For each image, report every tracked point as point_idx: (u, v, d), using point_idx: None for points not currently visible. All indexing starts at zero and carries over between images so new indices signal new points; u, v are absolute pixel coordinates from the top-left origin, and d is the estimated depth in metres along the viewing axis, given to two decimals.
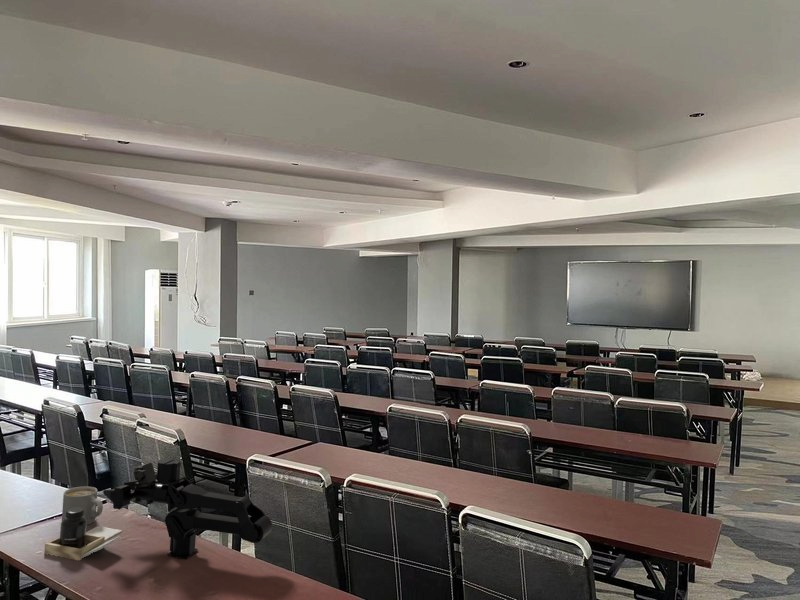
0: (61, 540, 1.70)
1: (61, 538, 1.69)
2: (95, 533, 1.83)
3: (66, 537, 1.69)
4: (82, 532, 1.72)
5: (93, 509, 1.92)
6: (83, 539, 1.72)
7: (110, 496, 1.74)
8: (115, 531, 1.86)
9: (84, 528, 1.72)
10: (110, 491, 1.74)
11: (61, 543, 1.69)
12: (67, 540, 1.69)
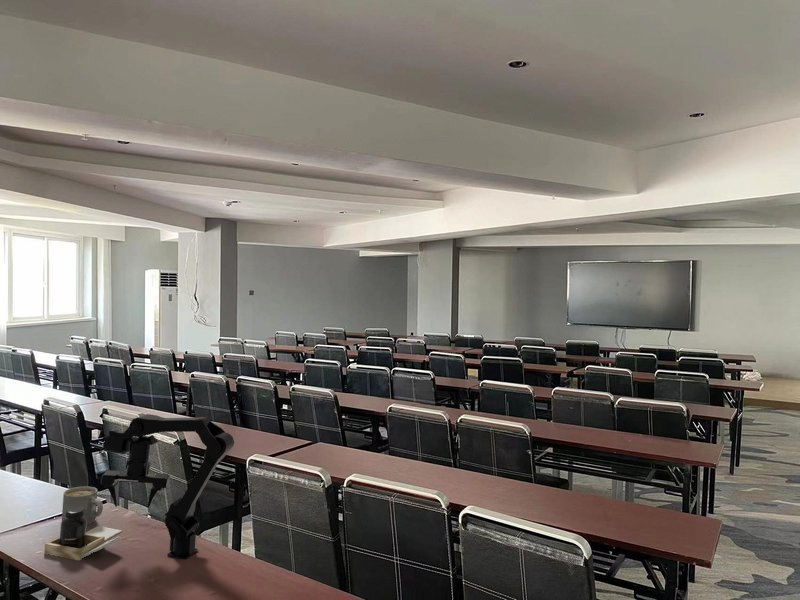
0: (61, 540, 1.70)
1: (61, 538, 1.69)
2: (95, 533, 1.83)
3: (66, 537, 1.69)
4: (82, 532, 1.72)
5: (93, 509, 1.92)
6: (83, 539, 1.72)
7: None
8: (115, 531, 1.86)
9: (84, 528, 1.72)
10: None
11: (61, 543, 1.69)
12: (67, 540, 1.69)
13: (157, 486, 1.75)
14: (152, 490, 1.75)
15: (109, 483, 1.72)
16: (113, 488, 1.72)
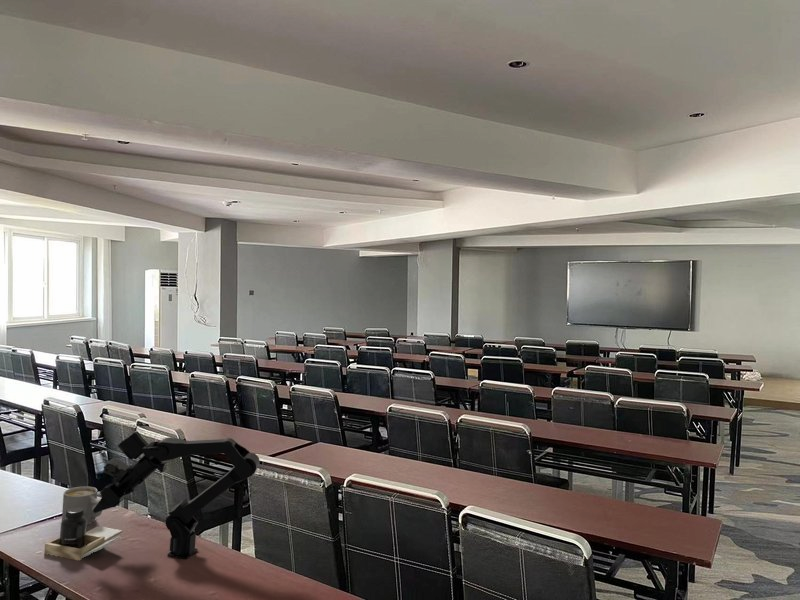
0: (61, 540, 1.70)
1: (61, 538, 1.69)
2: (95, 533, 1.83)
3: (66, 537, 1.69)
4: (82, 532, 1.72)
5: None
6: (83, 539, 1.72)
7: (103, 506, 1.67)
8: (115, 531, 1.86)
9: (84, 528, 1.72)
10: (99, 503, 1.67)
11: (61, 543, 1.69)
12: (67, 540, 1.69)
13: None
14: None
15: None
16: None
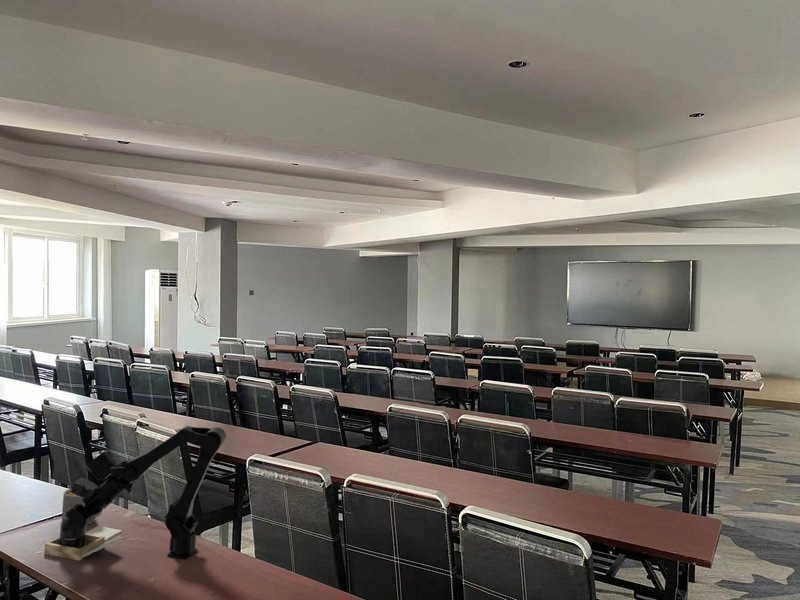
0: (61, 540, 1.70)
1: (61, 538, 1.69)
2: (95, 533, 1.83)
3: (66, 537, 1.69)
4: (82, 532, 1.72)
5: None
6: (83, 539, 1.72)
7: (71, 526, 1.68)
8: (115, 531, 1.86)
9: (84, 528, 1.72)
10: (67, 522, 1.68)
11: (61, 543, 1.69)
12: (67, 540, 1.69)
13: None
14: (98, 512, 1.77)
15: None
16: None
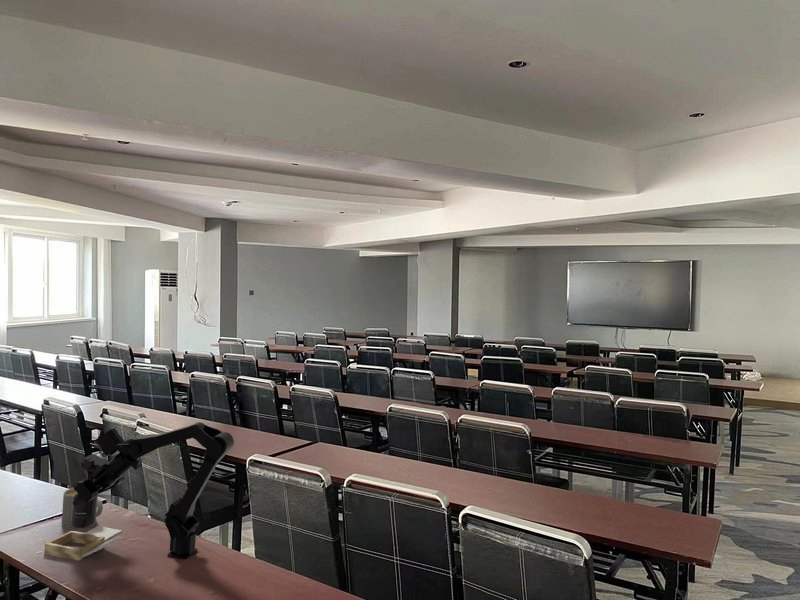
0: (72, 514, 1.74)
1: (72, 511, 1.74)
2: (95, 533, 1.83)
3: (77, 511, 1.73)
4: (92, 507, 1.75)
5: None
6: (93, 514, 1.76)
7: (80, 500, 1.72)
8: (115, 531, 1.86)
9: (94, 503, 1.76)
10: (77, 496, 1.72)
11: (72, 517, 1.74)
12: (77, 514, 1.73)
13: (117, 484, 1.83)
14: (110, 488, 1.81)
15: (92, 498, 1.70)
16: None
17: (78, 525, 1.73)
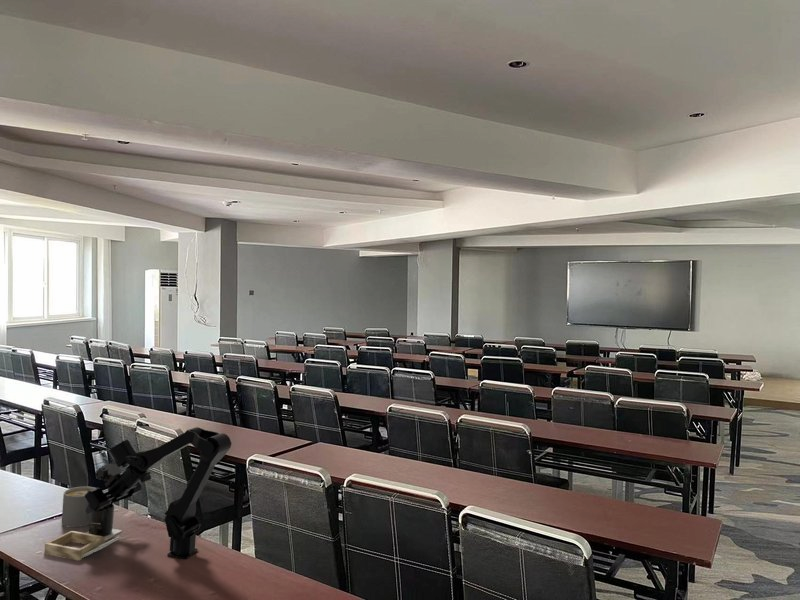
0: (89, 523, 1.82)
1: (89, 521, 1.81)
2: None
3: (92, 521, 1.80)
4: (107, 518, 1.82)
5: None
6: (108, 525, 1.82)
7: (91, 508, 1.78)
8: (115, 531, 1.86)
9: (109, 514, 1.82)
10: (88, 505, 1.78)
11: (89, 526, 1.81)
12: (93, 524, 1.80)
13: (134, 494, 1.88)
14: None
15: (102, 507, 1.75)
16: None
17: (93, 534, 1.80)
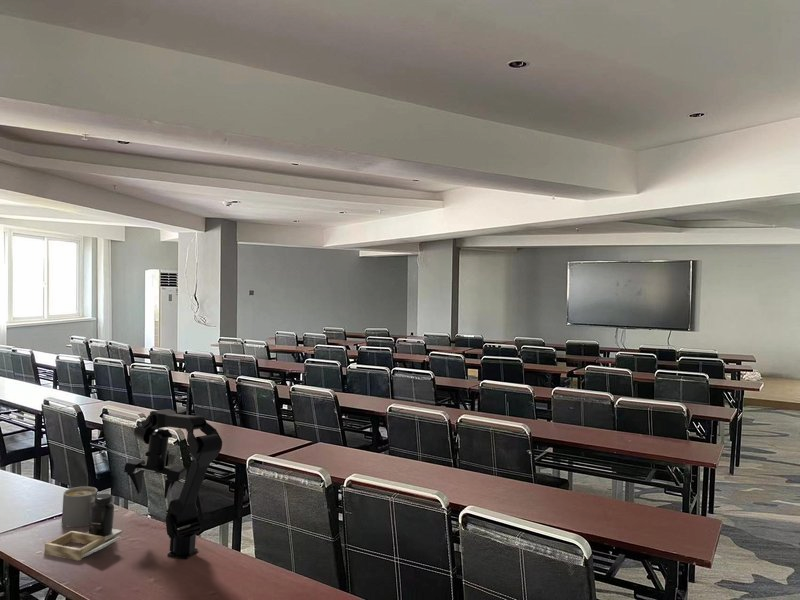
0: (89, 523, 1.82)
1: (89, 521, 1.81)
2: None
3: (92, 521, 1.80)
4: (107, 518, 1.82)
5: None
6: (108, 525, 1.82)
7: None
8: (115, 531, 1.86)
9: (109, 514, 1.82)
10: None
11: (89, 526, 1.81)
12: (93, 524, 1.80)
13: (170, 478, 1.82)
14: (166, 482, 1.82)
15: (130, 471, 1.83)
16: (134, 476, 1.83)
17: (93, 534, 1.80)
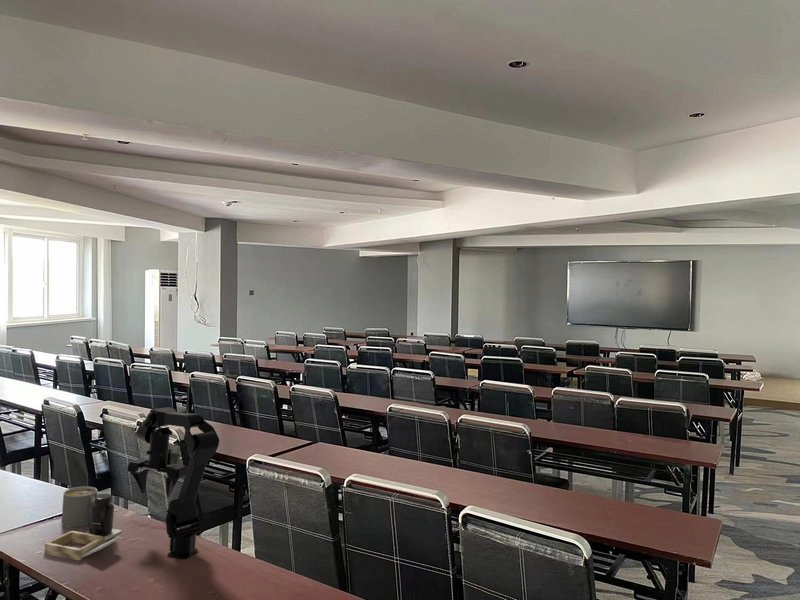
0: (89, 523, 1.82)
1: (89, 521, 1.81)
2: None
3: (92, 521, 1.80)
4: (107, 518, 1.82)
5: None
6: (108, 525, 1.82)
7: None
8: (115, 531, 1.86)
9: (109, 514, 1.82)
10: None
11: (89, 526, 1.81)
12: (93, 524, 1.80)
13: (170, 476, 1.82)
14: (167, 480, 1.82)
15: (133, 470, 1.85)
16: (136, 475, 1.85)
17: (93, 534, 1.80)
